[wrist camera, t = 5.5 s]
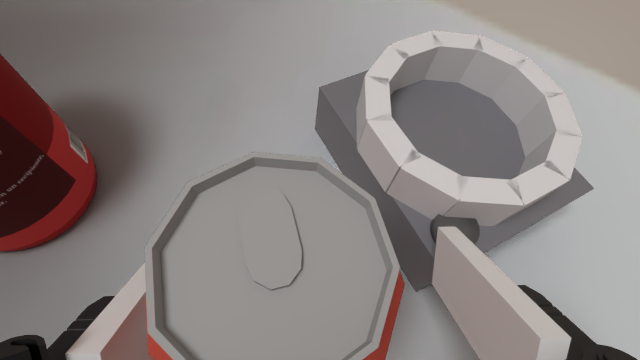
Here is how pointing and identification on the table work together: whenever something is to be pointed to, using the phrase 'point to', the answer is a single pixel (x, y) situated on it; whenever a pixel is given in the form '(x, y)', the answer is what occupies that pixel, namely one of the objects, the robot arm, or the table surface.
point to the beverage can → (271, 267)
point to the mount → (453, 142)
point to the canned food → (38, 168)
